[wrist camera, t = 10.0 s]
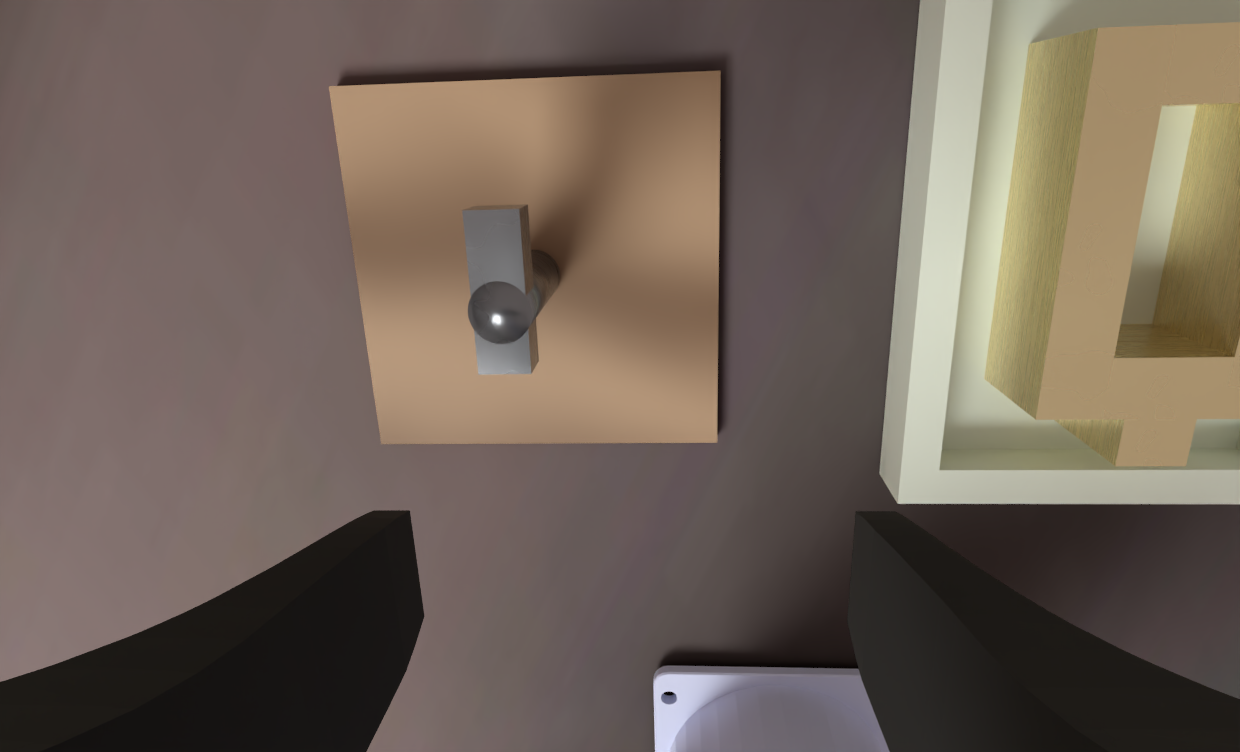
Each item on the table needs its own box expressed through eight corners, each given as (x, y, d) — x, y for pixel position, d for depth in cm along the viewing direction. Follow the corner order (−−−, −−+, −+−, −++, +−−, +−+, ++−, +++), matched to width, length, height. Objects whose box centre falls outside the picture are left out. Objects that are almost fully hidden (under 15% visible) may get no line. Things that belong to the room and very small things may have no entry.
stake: (562, 324, 21) (535, 374, 16) (513, 325, 21) (473, 374, 16) (555, 191, 19) (524, 208, 15) (502, 193, 19) (457, 210, 15)
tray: (1251, 472, 21) (1304, 504, 19) (879, 473, 22) (897, 503, 20) (1403, -110, 16) (1490, -138, 15) (927, -84, 17) (956, -109, 15)
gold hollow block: (1278, 34, 17) (1399, 15, 14) (1189, 418, 20) (1275, 466, 17) (1028, 44, 17) (1098, 27, 15) (978, 419, 21) (1028, 466, 18)
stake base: (716, 437, 22) (717, 442, 21) (386, 438, 22) (381, 444, 22) (719, 71, 19) (720, 70, 18) (335, 87, 19) (329, 86, 19)
